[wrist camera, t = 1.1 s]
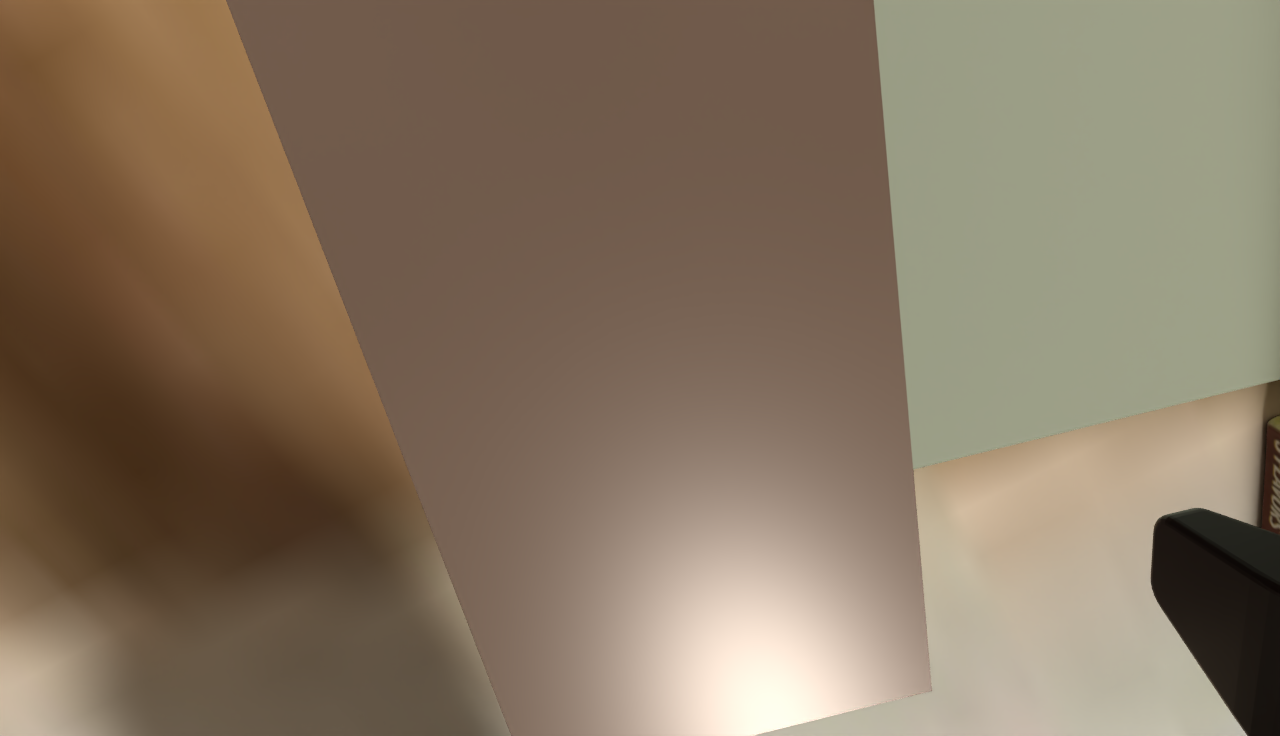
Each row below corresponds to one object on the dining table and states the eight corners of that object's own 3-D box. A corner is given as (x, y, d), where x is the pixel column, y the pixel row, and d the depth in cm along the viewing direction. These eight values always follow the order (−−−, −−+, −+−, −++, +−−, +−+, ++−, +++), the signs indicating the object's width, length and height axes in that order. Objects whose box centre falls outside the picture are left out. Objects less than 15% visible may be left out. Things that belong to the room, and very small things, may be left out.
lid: (531, 686, 18) (532, 790, 16) (281, -10, 12) (225, -1, 10) (881, 599, 18) (931, 690, 16) (799, -131, 12) (861, -149, 10)
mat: (878, 467, 21) (884, 476, 21) (791, -365, 14) (798, -373, 14) (1321, 358, 21) (1335, 365, 21) (1453, -516, 14) (1478, -529, 14)
